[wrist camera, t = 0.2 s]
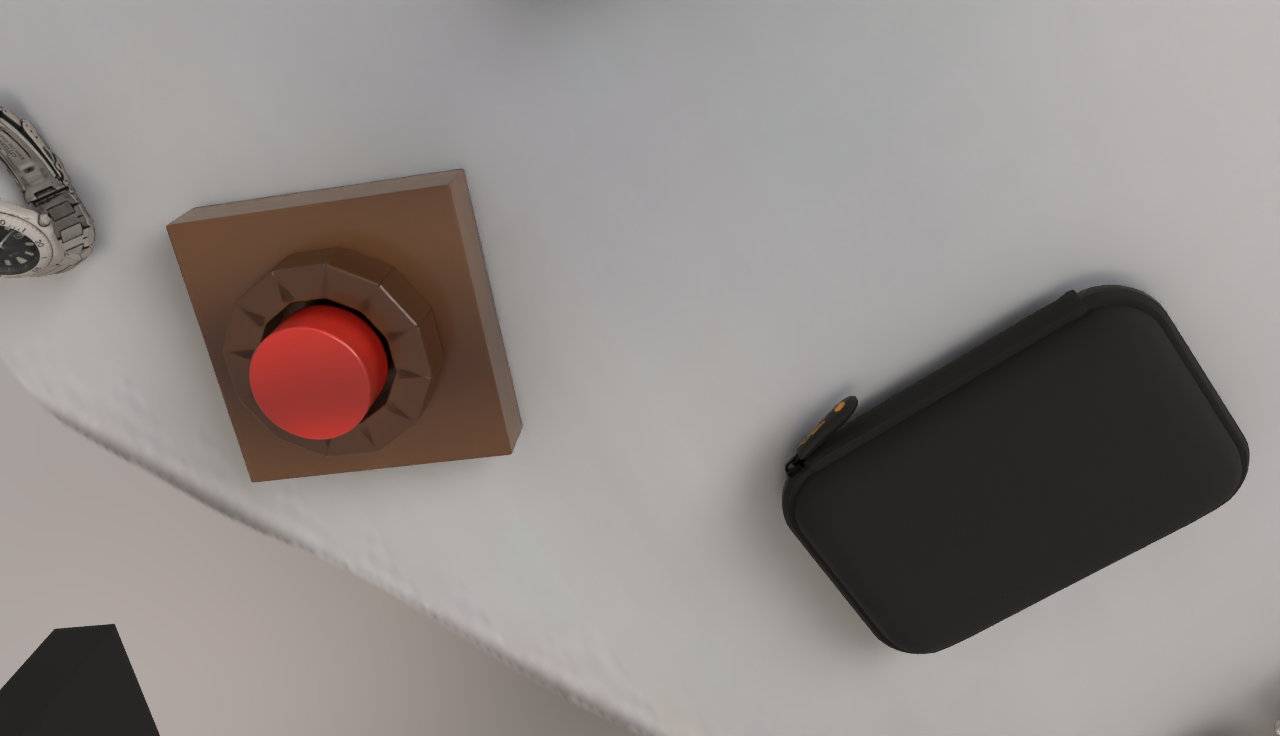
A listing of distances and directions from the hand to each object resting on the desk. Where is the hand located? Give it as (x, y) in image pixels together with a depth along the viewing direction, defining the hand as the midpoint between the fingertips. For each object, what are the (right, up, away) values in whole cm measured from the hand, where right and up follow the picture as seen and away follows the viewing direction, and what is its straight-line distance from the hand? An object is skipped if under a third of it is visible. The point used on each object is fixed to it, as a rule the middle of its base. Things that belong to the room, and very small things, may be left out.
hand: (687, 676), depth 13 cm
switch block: (-11, +5, +29) cm, 32 cm away
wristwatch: (-21, +10, +28) cm, 37 cm away
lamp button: (-11, +4, +26) cm, 28 cm away
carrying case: (+12, +1, +29) cm, 32 cm away
